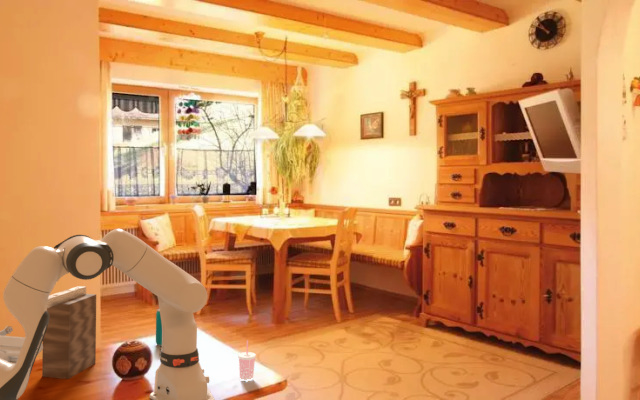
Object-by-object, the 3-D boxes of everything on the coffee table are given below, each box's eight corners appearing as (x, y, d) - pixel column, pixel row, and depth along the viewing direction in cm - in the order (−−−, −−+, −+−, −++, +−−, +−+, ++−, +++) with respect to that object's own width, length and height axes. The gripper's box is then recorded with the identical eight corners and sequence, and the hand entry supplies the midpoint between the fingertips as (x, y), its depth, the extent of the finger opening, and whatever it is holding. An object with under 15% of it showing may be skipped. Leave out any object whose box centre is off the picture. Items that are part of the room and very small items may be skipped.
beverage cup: (252, 375, 191) (253, 337, 190) (257, 381, 185) (258, 342, 185) (235, 377, 188) (236, 339, 187) (240, 384, 183) (241, 344, 182)
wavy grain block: (68, 379, 182) (69, 304, 181) (42, 376, 184) (42, 302, 183) (95, 363, 198) (96, 294, 197) (71, 360, 200) (71, 292, 199)
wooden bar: (42, 310, 173) (42, 301, 173) (33, 309, 173) (33, 300, 173) (86, 294, 197) (86, 286, 196) (78, 293, 197) (78, 285, 197)
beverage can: (172, 343, 224) (172, 308, 224) (166, 347, 219) (167, 311, 218) (158, 342, 225) (159, 307, 224) (153, 346, 219) (154, 310, 219)
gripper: (22, 358, 152) (50, 323, 163) (-41, 353, 155) (-9, 319, 167) (29, 373, 155) (56, 338, 167) (-32, 367, 158) (-1, 333, 170)
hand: (23, 328), depth 167 cm, fingers open, 8 cm apart
